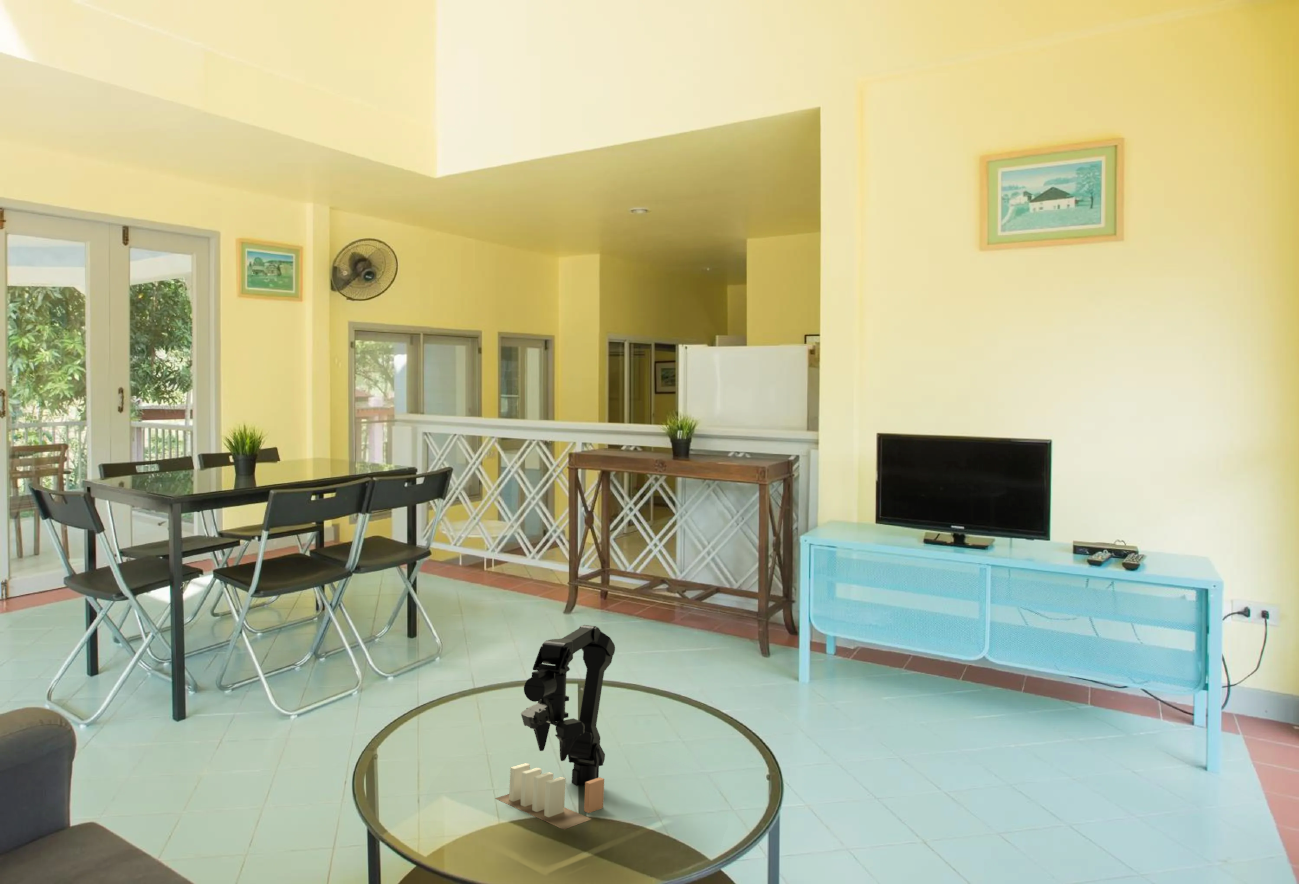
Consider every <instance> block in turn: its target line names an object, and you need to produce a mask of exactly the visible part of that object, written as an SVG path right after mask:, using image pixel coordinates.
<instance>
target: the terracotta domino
mask: <svg viewBox="0 0 1299 884" xmlns="http://www.w3.org/2000/svg"><path fill="white" fill-rule="evenodd" d="M604 790H605V778H602V777H601V776H600V777H598V778H596V779H593V780H590V781H587V782H585V785H584V801H583V803H584V805H583V806H584V808H583V811H584V812H585V813H588V814H591V813H593V812H596V811H599V810H601V809H603V808H604V797H605V796H604V795H605V794H604V793H605V791H604Z"/></svg>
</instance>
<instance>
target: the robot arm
mask: <svg viewBox="0 0 1299 884" xmlns="http://www.w3.org/2000/svg"><path fill="white" fill-rule="evenodd" d="M538 650H539V651H538V653H537V656H536V658H535V662H534V664H533V667H532V670H533V672H531V677H529V678H528V679H527V680H526V681H525V683H524V685H523V693H524V695H525V696H526V698H527V699H528V700H529V701H530V702H535V703H536V702H537V703H536V704H533V705H531V706H529V707H526V709H524V710H523V711H522V712H521V713H520V715H521V716H520V717H521V718H522V722H523V725H524V726H525V727H527V728H530V729H531V730H533V731H534V736H535V738H536V742H537V746H538V750H539V752H543V751H544V750H545V747H546V745H547V740H548V737H549V736H548V735H549V732H550V727H551V725H553V726H555V732H556V734H555V735H554V736H555V737H556V738H557V740H558V742H559V759H560V761H561V762H564V761H566V759H567V757H568V763H570V764H571V763H573V768H572V770H571V784H573V785H575V786H576V787H577V786H579V787H580V786H585V782H587V781H590V780H593V779H596V778H599V776H600V775H599V773H600V772H599V771H600V767H601V766H604V762H605V758H606V753H605V751H604V750H603V748H602V745H601V735H600V733H599V730H598V726H597V722H598V715H599V708H600V703H601V695H602V690H603V689H602V688H603V681H604V677H605V676H604V675H605V672H606V670H607V669H608V668H609V666H610V665H611V664H612V661H613V656H614V654H615V651H616V647H615V643H614V642H613V640H612V638H611V637H610V636H609V635H607V634H605V633H604V632H602V631H601V629H600V627H598V626H597V625H588V624H583V625H580V626H579V628H577V629H576V630H574V631H571V633H568V634H567V635H566V636H564V637H562V638H551V639H548V640H545V641H544V642H543V643H542V644H541V646H540V647H539V649H538ZM580 650H582V660H583V662H584V665H585V667H586V674H585V680H584V686H583V693H582V698H581V706H580V710H579V711H580V713H579V717H578V718H579V719H576V718H569V714H570V713H569V712H566V702H569V701H570V696H568V695H567V694H566V692H567V672H570V670H571V668H570V666H569V664H570V663H571V662H572V660H573V659H574V654H575V653H577V652H578V651H580ZM567 718H569V719H567Z"/></svg>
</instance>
